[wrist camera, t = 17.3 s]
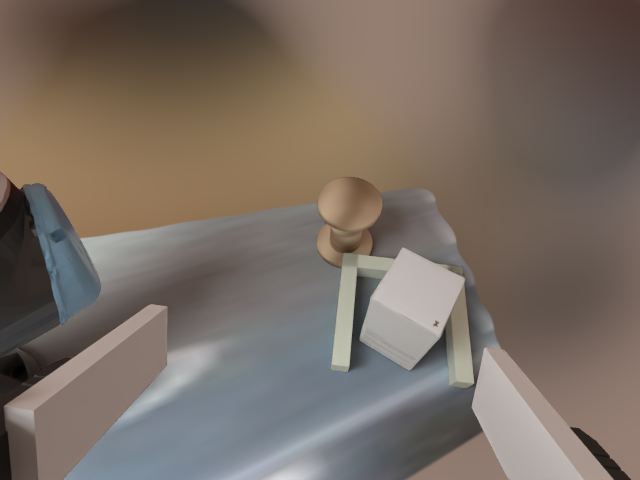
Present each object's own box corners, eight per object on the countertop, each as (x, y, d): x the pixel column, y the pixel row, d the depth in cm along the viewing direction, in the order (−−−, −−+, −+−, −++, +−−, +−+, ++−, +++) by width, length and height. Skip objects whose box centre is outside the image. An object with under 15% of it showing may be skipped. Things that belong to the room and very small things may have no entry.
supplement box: (434, 323, 47) (469, 278, 36) (409, 373, 43) (441, 340, 33) (383, 294, 49) (403, 244, 38) (356, 339, 45) (369, 298, 35)
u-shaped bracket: (330, 369, 43) (331, 364, 41) (342, 261, 51) (343, 252, 49) (466, 388, 42) (474, 383, 40) (456, 275, 51) (462, 266, 48)
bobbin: (313, 264, 51) (313, 223, 43) (320, 219, 55) (322, 173, 47) (370, 271, 51) (381, 230, 42) (372, 225, 55) (383, 180, 47)
